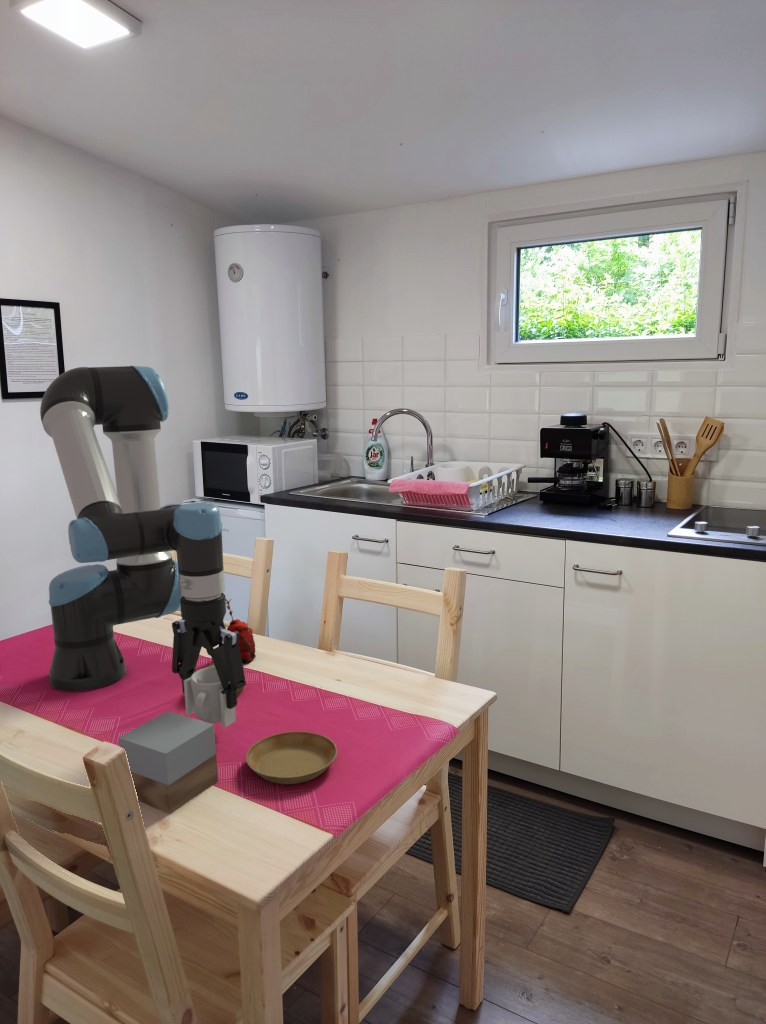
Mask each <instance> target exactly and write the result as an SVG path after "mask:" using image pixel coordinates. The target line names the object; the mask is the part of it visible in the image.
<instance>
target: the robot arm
mask: <svg viewBox="0 0 766 1024" xmlns="http://www.w3.org/2000/svg"><path fill="white" fill-rule="evenodd" d="M169 407H170V406H169V400H168V396H167V391H166V387H165V385H164V382H163V380H162V378H161V376H160V374H159V372H158V371H156V370H155V369H154V368H152V367H151V366H139V365H137V366H136V365H129V366H127V365H124V366H123V365H121V366H96V367H95V366H94V367H93V366H92V367H88V366H82V367H81V366H80V367H79V366H78V367H75V368H71V369H68V370H67V371H64V372H63V373H61V374H60V375H59V376H57V377H56V378H55V379H53V381H52V382H51V383H50V384H49V386H48V387H47V388H46V390H45V392H44V394H43V396H42V398H41V403H40V409H39V413H40V414H39V415H40V420H41V425H42V427H43V430H44V431H45V433H46V434H47V436H48V437H50V438H52V441H53V445H54V447H55V452H56V455H57V457H58V461H59V464H60V467H61V468H60V469H61V470H62V475H63V477H64V481H65V484H66V488H67V491H68V494H69V498H70V501H71V504H72V507H73V510H74V514H75V517H76V519H73V520H71V521H70V522H69V524H68V530H67V531H68V542H69V547H70V552H71V555H72V558H73V559H74V560H75V562H77V563H79V564H80V563H81V564H84V563H85V564H87V565H81V566H77V567H74V568H71V569H67V570H65V571H63V572H61V573H58V574H57V575H55V576H54V577H53V578H52V579H51V580H50V582H49V586H48V594H49V595H48V596H49V597H48V598H49V599H48V604H49V605H50V613H51V622H52V630H53V631H52V632H53V633H52V634H53V641H54V650H53V653H52V655H53V656H52V659H51V665H50V669H49V671H48V676H49V677H48V680H49V685H50V687H52V688H53V689H55V690H56V691H60V692H61V691H62V692H84V691H91V690H96V689H99V688H103V687H106V686H109V685H112V684H113V683H115V682H117V681H120V680H121V679H122V678H123V677H124V676H125V675H126V672H127V670H126V669H127V668H126V661H125V658H124V656H123V654H122V652H121V650H120V647H119V646H118V644H117V641H116V639H115V635H114V626H118V625H124V624H128V623H133V622H138V621H143V620H150V619H154V618H156V619H158V618H161V617H163V616H167V615H171V614H174V613H176V612H177V611H178V610H179V608H180V615H181V619H178V620H175V621H173V622H171V628H172V633H173V643H172V657H171V659H172V661H171V672H172V673H173V674H177V675H179V678H180V679H181V689H182V694H183V695H184V703H185V704H184V706H185V714H186V716H190V715H192V714H194V713H195V702H194V697H193V691H192V686H191V681H190V678H191V676H192V674H193V673H195V672H196V671H197V669H196V667H197V663H198V661H199V657H200V653H201V651H202V648H203V649H205V650H206V653H207V655H208V656H210V657H211V661H212V663H214V665H215V668H216V671H217V674H218V676H219V679H220V682H221V684H222V687H223V690H221V691H220V704H221V720H222V722H221V727H222V728H226V727H229V726H230V725H232V724H234V723H235V722H237V717H236V707H237V705H238V696H237V690H238V689H240V688H242V687H243V686H244V687H245V686H246V685H247V682H246V677H245V671H244V667H243V663H242V659H241V654H240V649H239V632H238V631H234V632H231V631H228V630H227V627H226V625H225V623H224V620H225V615H226V614H227V604H226V603H227V601H226V599H227V598H226V594H225V593H224V592H225V591H226V586H225V585H226V583H225V572H224V571H225V570H224V553H223V552H224V551H223V550H224V549H223V532H222V531H223V523H222V520H221V512H220V508H219V507H218V506H217V505H216V504H213V503H207V502H192V503H191V502H190V503H184V504H180V503H179V504H178V503H169V504H165V505H163V506H162V507H161V498H160V489H159V488H160V487H159V485H160V484H159V477H158V475H159V474H158V466H157V464H158V463H157V454H156V453H157V452H156V443H155V438H156V436H157V435H158V434H159V433H160V432H161V431H162V427H161V426H162V425H161V423H163V422H166V421H167V419H168V418H169ZM97 425H99V426H100V425H102V434H103V435H105V436H106V437H107V438H108V439H109V440H110V441H111V447H112V448H111V449H112V457H113V466H114V467H113V468H114V477H115V486H116V487H115V486H114V484H113V483H114V482H113V480H112V476H111V475H110V472H109V469H108V466H107V463H106V461H105V460H106V459H105V458H104V455H103V452H102V448H101V445H100V444H99V440H98V438H97V434H96V432H95V428H94V427H95V426H97ZM172 551H175V552H176V560H174V559H173V554H172V553H171V552H172ZM110 560H116V561H115V563H116V569H114V570H109V569H108V568H107V566H106V565H104V564H97V563H98V562H100V563H102V562H106V561H110ZM88 563H96V564H92V565H91V564H88ZM225 598H226V599H225ZM229 681H230V683H229Z"/></svg>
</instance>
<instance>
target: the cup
mask: <svg viewBox="0 0 766 1024" xmlns="http://www.w3.org/2000/svg"><path fill="white" fill-rule="evenodd" d="M205 667H206V666H205ZM205 667H204V668H200V669H198V670H196V671H195V673H193V674H192V676H191V678H190V681H191V686H192V691H193V697H194V702H195V712H194V713H195V716H196V718H197V719H198V720H200V721H204V722H207V723H211V724H214V723H222V720H221V704H220V691H221V690H223V687H222V684H221V682H220V679H219V676H218V674H217V671H216V668H215V666H212V667H206V668H205ZM229 683H230V681H229Z"/></svg>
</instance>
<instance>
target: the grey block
mask: <svg viewBox="0 0 766 1024" xmlns="http://www.w3.org/2000/svg"><path fill="white" fill-rule="evenodd" d="M215 736H216V735H215V724H214V723H209V722H204V721H202V720H201V719H198V718H197V719H196V718H193V717H190V716H188V715H183V714H180V713H177V712H173V711H169V710H167V711H164V712H163V713H161V714H159V715H157V716H155V717H153V718H152V719H149V720H147V721H146V722H144V723H142V724H140V725H139V726H137V727H135V728H133V729H131V730H130V731H127V732H125V733H124V734H122V735H121V736H118V737H117V739H118V741H117V742H118V747H119V746H120V747H122V748H124V749H125V751H126V754H127V758H128V762H129V766H130V771H131V772H133V773H136V774H139V775H142V776H144V777H147V778H150V779H153V780H155V781H158V782H161V783H164V784H167V785H170V784H171V783H173V782H174V781H176V780H177V779H179V778H180V777H182V776H183V775H185V774H186V773H188V772H189V771H191V770H193V769H194V768H196V767H197V766H198V765H200V764H201V763H203V762H204V761H206V760H208V759H209V758H211V757H212V756H214V755H215V754H216V755H217V751H216V746H217V745H216V737H215Z"/></svg>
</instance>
